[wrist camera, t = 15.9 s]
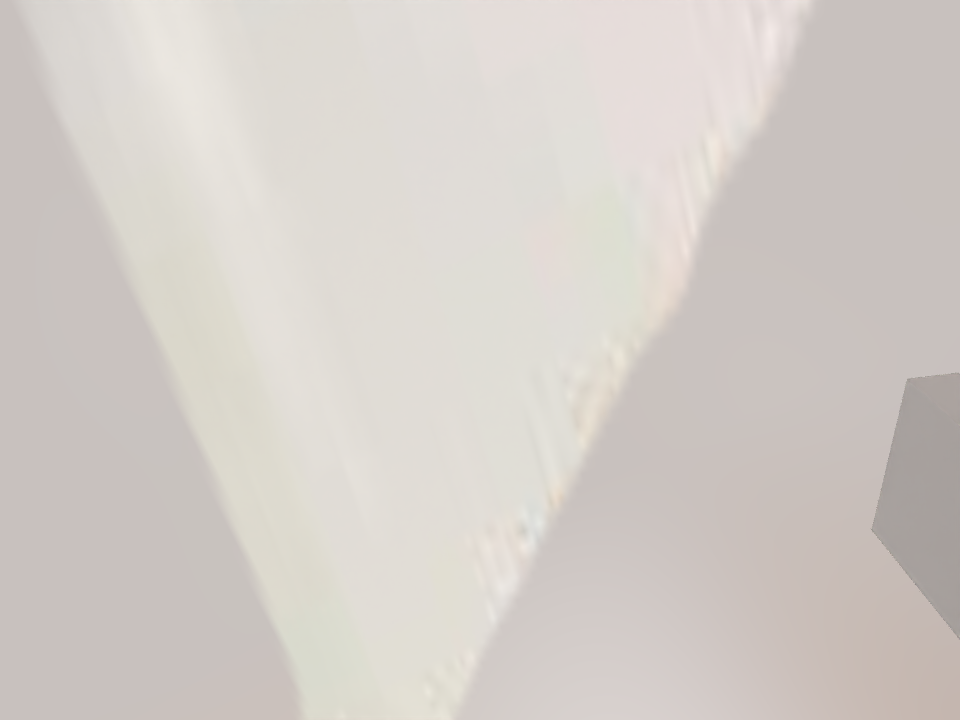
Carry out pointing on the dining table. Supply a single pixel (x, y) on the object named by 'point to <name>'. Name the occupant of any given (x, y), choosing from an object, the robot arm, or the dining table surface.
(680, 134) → the dining table surface
